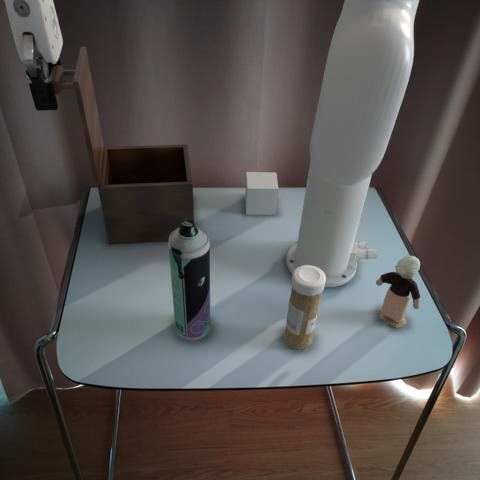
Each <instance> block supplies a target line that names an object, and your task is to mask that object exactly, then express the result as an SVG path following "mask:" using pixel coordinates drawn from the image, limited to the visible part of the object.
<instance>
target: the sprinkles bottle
mask: <svg viewBox="0 0 480 480" xmlns="http://www.w3.org/2000/svg"><path fill="white" fill-rule="evenodd" d="M325 281H326V276H325V274H324V272H323V271H322V270H321V269H319V268H317V267H315V266H311V265H304V266H300V267H298V268H297V269H295V271H294V272H293V274H292V276H291V291H290V296H289V300H288V307H287V314H286V319H285V330H284V333H283V340H284V343H285V344H286V345H287V346H288V347H289V348H292V349H295V350H304V349H306V348H308V347H309V346H311V344H312V342H313V335H314V331H315V327H316V322H317V319H318V318H317V317H318V312H319V308H320V307H319V306H320V302H321V297H322V292H323V291H324V290H325V287H324V286H325Z"/></svg>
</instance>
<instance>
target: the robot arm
mask: <svg viewBox="0 0 480 480" xmlns="http://www.w3.org/2000/svg"><path fill="white" fill-rule="evenodd" d="M3 1H4V5H5V8H6V12H7V17H8V21H9V25H10V29H11V33H12V36H13V41H14V44H15V47H16V51H17V53H18V57H19V59H20V61H21V62H22V64H24V67H25V69H26V70H25V74H26V78H27V83H28V87H29V91H30V93H31V97H32V101H33V105H34V109H35V110H36V111H38V112H39V111H41V112H43V111H57V110H58V109H59V105H58V100H57V96H56V95H57V94H55V91H54V87H53V83H52V81H49V78H50V74H51V71H52V68H53V67H54V66H55V65H60V66H62V67H63V65H62V60H61V56H60V55H61V52H62V49H63V45H64V40H63V35H62V31H61V28H60V23H59V18H58V14H57V11H56V7H55V3H54V0H3ZM419 2H420V0H344V2H343V6H342V10H341V13H340V15H339V18H338V21H337V22H336V25H335V28H334V31H333V34H332V38H331V42H330V44H329V49H328V53H327V57H326V62H325V67H324V71H323V76H322V81H321V86H320V92H319V98H318V102H317V107H316V112H315V117H314V121H313V127H312V132H311V137H310V141H309V157H310V160H309V161H310V162H309V167H308V173H307V181H306V184H305V185H306V187H305V192H304V198H303V205H302V211H301V219H300V225H299V229H298V230H299V231H298V237H297V242H295V243H294V244H292V245H291V246H290V247H289V249H288V251H287V253H286V259H285V260H286V261H285V263H286V267H287V269H288V271H289V273H291V275H293V272H294V271H295V269H297V268H298V267H300V266H304V265H311V266H315V267H317V268H319V269H321V270H322V271H323V272H324V274H325V276H326V281H325V286H324V288H334V287H339V286H342V285H345V284H346V283H348V282H350V281H351V280H352V279H353V278H354V276H355V274H356V271H357V269H358V268H357V267H358V263H359V262H360V261H361V260H377V258H378V257H379V256H378V255H379V253H378V249H377V248H376V247H372V248H371V247H370V248H367V242H366V241H365V240H364V241H363V240H362V241H356V238H357V237H356V236H357V232H358V230H359V226H360V221H361V217H362V213H363V210H364V205H365V202H366V199H367V195H368V191H369V187H370V183H371V179H372V176H373V173H375V171H377V169H378V167H379V166H380V164H381V162H382V161H383V158H384V156H385V154H386V150H387V147H388V145H389V142H390V140H391V136H392V133H393V130H394V127H395V125H396V120H397V119H398V115H399V112H400V110H401V109H400V108H401V106H402V103H403V100H404V97H405V93H406V91H407V87H408V83H409V81H410V76H411V72H412V68H413V64H414V58H415V57H414V56H415V39H414V38H415V36H414V35H415V34H414V30H415V29H414V28H415V27H414V26H415V19H416V14H417V10H418V7H419ZM65 78H66V77H65ZM65 78H64V82H63V83H66V82H65V81H66V79H65Z"/></svg>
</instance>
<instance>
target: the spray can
mask: <svg viewBox="0 0 480 480" xmlns="http://www.w3.org/2000/svg"><path fill="white" fill-rule="evenodd" d="M167 244H168V245H167V247H168V254H169V255H168V258H169V270H170V280H171V281H170V282H171V292H172V305H173V315H174V328H175V332H176V334H177V336H179V338H181V339H183V340H186V341H192V342H195V341H200V340H203V339H204V338H206V337H207V336H208V334H209V333H210V330H211V243H210V237H209V234H208V233H207V231H205V230H204V229H202V228H200V227H197V226H196V223H195V220H194V221H192V220H188V221H185V222H183V223H182V224H181V227H180V228H178V229H176V230H174V231H173V232H172V233H171V234H170V236H169V241H167Z"/></svg>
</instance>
